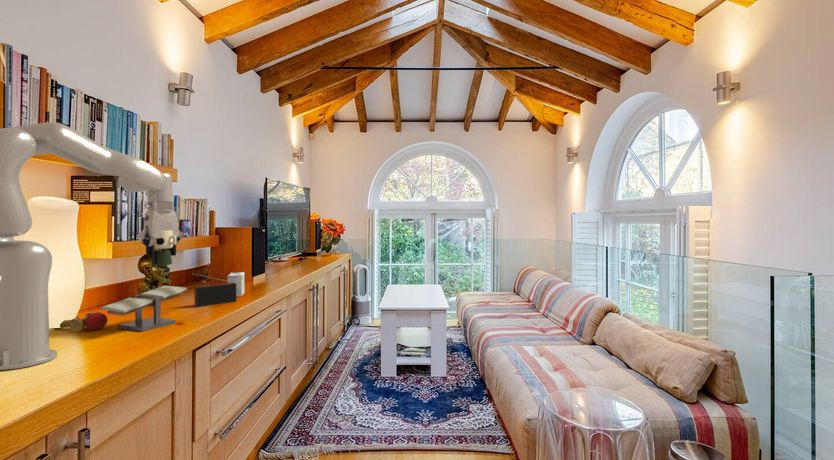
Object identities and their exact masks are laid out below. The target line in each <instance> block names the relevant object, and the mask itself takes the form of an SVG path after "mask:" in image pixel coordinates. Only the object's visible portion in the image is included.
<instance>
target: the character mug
mask: <svg viewBox="0 0 834 460" xmlns="http://www.w3.org/2000/svg"><path fill="white" fill-rule="evenodd" d="M175 244H176V236H174V235H173V233H172V231H160V239H154V243H153V245H152V246H154V256H155V257H154V258H151V267H155V266H157V267H158V268H159V267H167V266H169V265H172V264H173V259H172V256H171V253H170V251H169V250H168V248H172V247H173V245H175Z"/></svg>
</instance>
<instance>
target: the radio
mask: <svg viewBox="0 0 834 460" xmlns="http://www.w3.org/2000/svg"><path fill="white" fill-rule="evenodd" d="M190 274H191V275H193V273H192V272H191V273H190ZM194 275H196V276H198V274H196V273H194ZM199 276H201V277H206V278H209V279H215V280H219V281H223V282H226V283H219V284H210V285H202V286H194V307H196V308H202V307H208V306H216V305H223V304H229V303H231V304H232V303H236V302H237V296H236V284H235V283H233V282H231V283H228V282H230V281H228V280H225V279H220V278H216V277H215V278H214V277H211V276H206V275H201V274H199Z"/></svg>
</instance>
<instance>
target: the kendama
mask: <svg viewBox="0 0 834 460" xmlns="http://www.w3.org/2000/svg"><path fill="white" fill-rule="evenodd" d="M108 320H109V319H108V317H107V315H106V314H104V313H103V312H99V311H96V312H89V313H87V314H86V315H85V316H84V317H83V318H80V317H74V318H72V319H64V321H63V322H62V323H61V324H60V327H61V328H60V329H64V328H69V329H70V330H71V331H72V332H74V333H80V332H82V331H84V330H85V328H87V329H88V330H90V331H99V330H102V329H103V328H104V327H106V325H107V324H108Z"/></svg>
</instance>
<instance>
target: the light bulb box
mask: <svg viewBox="0 0 834 460" xmlns="http://www.w3.org/2000/svg"><path fill="white" fill-rule="evenodd" d="M227 281H230V282H227V283H231V282H233V283H235V284H236V297H242V296H243V295H244V294H245V271H243V272H242V271H240V272H230V274H228V275H227Z"/></svg>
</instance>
